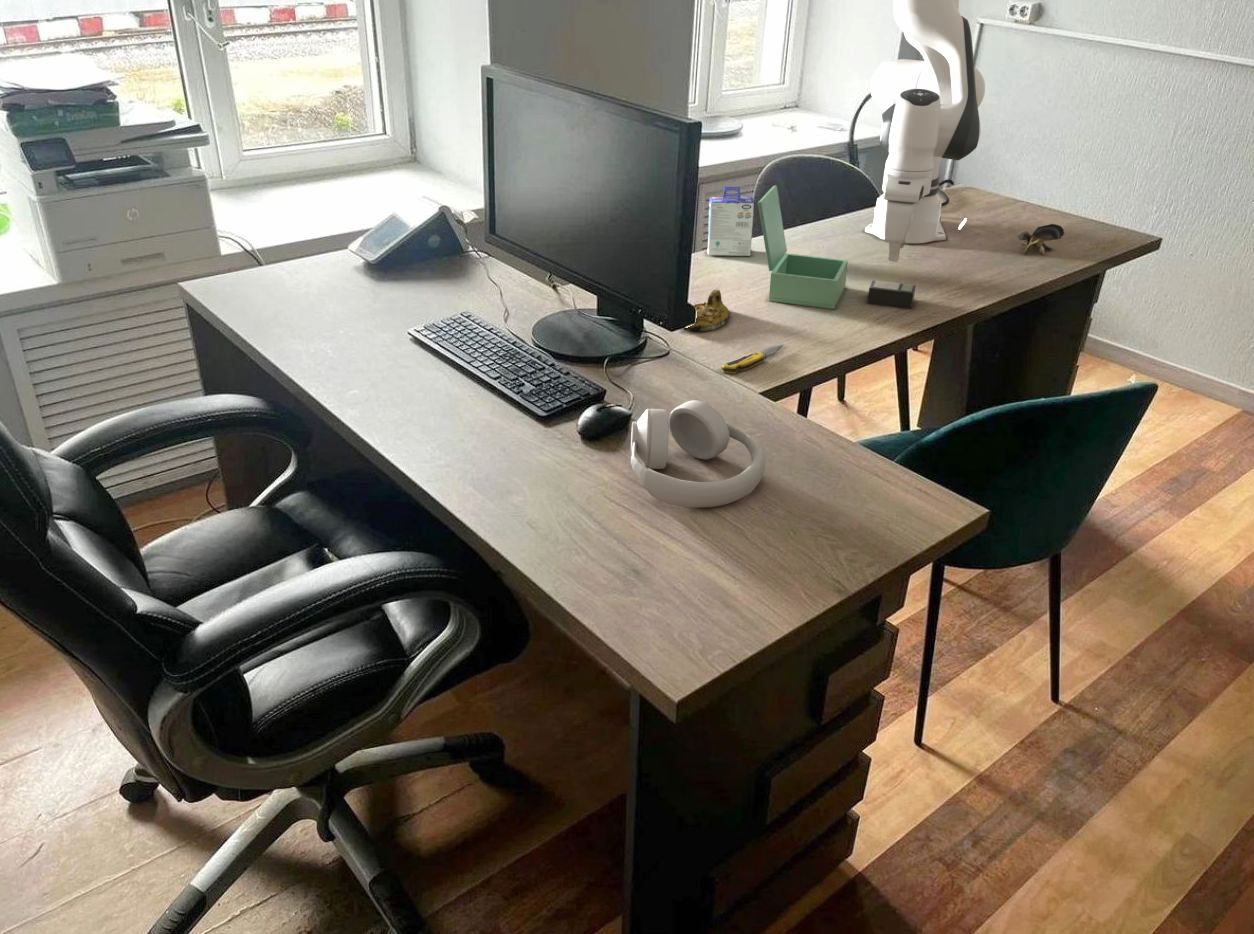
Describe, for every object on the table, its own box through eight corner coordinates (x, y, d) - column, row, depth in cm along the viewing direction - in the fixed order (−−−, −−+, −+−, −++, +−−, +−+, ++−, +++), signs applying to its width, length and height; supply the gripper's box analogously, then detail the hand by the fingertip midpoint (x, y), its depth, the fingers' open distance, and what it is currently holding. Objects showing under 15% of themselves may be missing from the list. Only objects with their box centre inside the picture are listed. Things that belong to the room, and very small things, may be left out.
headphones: (603, 448, 145) (661, 534, 131) (606, 404, 140) (666, 488, 126) (715, 426, 151) (782, 505, 137) (721, 382, 147) (791, 460, 132)
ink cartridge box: (749, 249, 230) (754, 185, 222) (751, 256, 225) (756, 192, 218) (706, 248, 230) (709, 185, 222) (707, 256, 225) (710, 191, 218)
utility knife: (775, 338, 180) (789, 342, 179) (774, 344, 181) (788, 349, 179) (720, 365, 170) (734, 370, 168) (720, 371, 170) (734, 376, 169)
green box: (845, 287, 208) (848, 260, 205) (833, 309, 197) (837, 281, 194) (782, 279, 211) (785, 253, 209) (768, 300, 200) (770, 273, 197)
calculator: (867, 303, 200) (869, 287, 198) (870, 295, 204) (872, 279, 202) (910, 308, 197) (913, 292, 195) (913, 300, 201) (915, 284, 200)
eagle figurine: (1046, 256, 223) (1070, 241, 227) (1033, 226, 222) (1058, 212, 226) (1019, 265, 230) (1043, 251, 234) (1007, 237, 229) (1031, 223, 233)
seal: (709, 342, 184) (738, 315, 196) (712, 319, 182) (742, 293, 193) (663, 328, 187) (695, 302, 199) (666, 305, 185) (699, 280, 196)
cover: (776, 185, 203) (773, 185, 203) (761, 202, 192) (757, 202, 192) (787, 251, 208) (783, 251, 209) (772, 270, 197) (769, 271, 197)
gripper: (896, 169, 198) (886, 237, 205) (882, 192, 181) (872, 266, 188) (929, 172, 196) (918, 241, 203) (918, 196, 179) (906, 270, 186)
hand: (896, 253), depth 195 cm, fingers open, 8 cm apart
